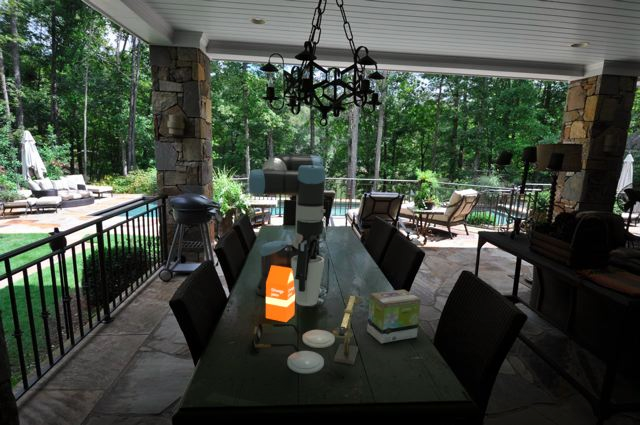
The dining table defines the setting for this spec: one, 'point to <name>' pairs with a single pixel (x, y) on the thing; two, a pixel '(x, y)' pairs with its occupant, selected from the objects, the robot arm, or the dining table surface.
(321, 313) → the dining table surface
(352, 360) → the balance
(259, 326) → the sunglasses
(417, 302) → the tea box
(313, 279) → the foam cup
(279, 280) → the orange juice
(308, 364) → the dish low
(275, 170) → the robot arm
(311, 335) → the dish high
